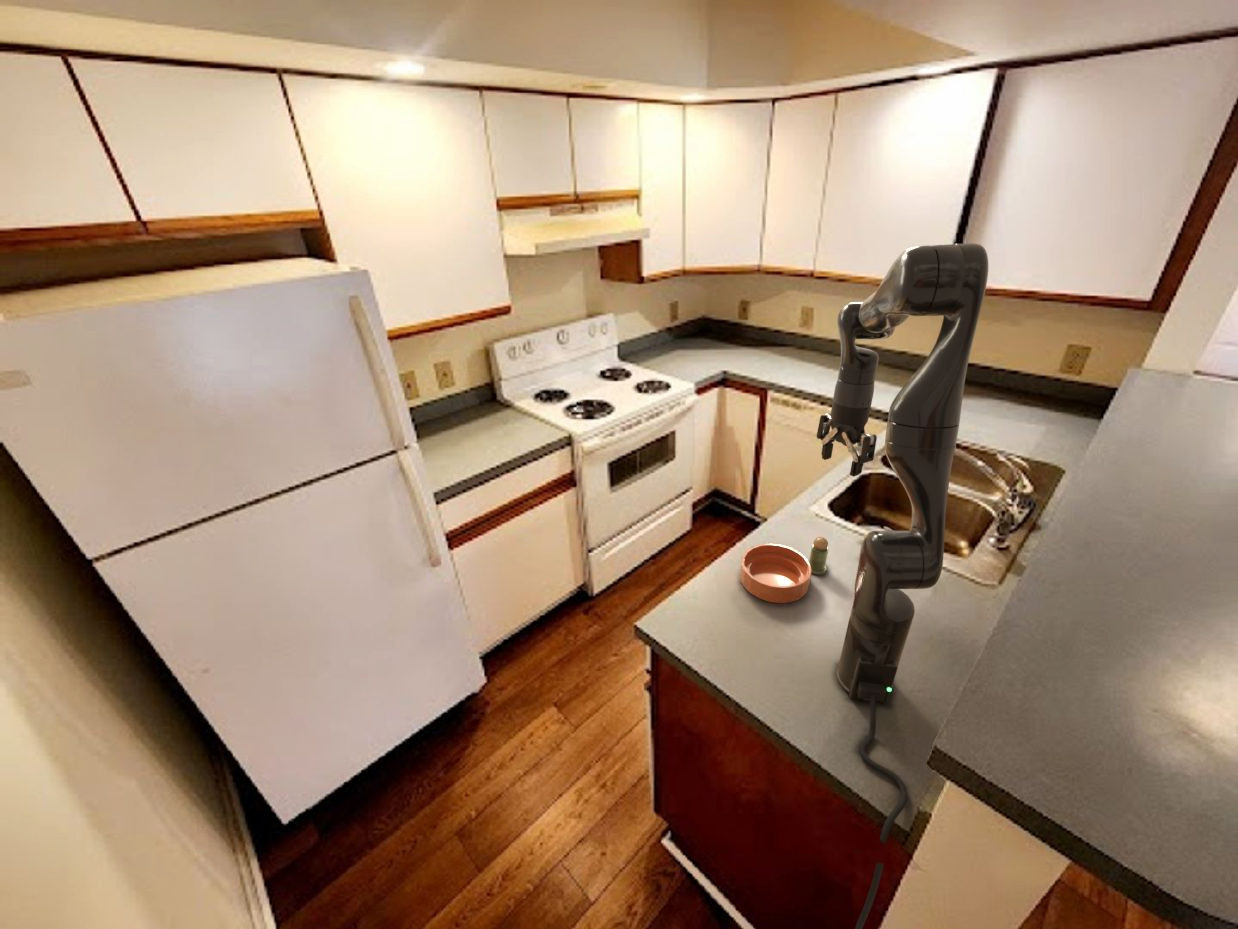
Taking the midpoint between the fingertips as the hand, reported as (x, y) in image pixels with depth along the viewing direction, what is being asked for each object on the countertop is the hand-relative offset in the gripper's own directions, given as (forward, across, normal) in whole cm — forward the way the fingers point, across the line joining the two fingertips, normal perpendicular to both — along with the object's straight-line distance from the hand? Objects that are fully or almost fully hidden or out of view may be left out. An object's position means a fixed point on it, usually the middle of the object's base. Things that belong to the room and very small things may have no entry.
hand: (840, 466), depth 119 cm
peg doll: (+24, +4, -6) cm, 25 cm away
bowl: (+24, +3, -18) cm, 30 cm away
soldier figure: (+24, +5, +12) cm, 28 cm away
